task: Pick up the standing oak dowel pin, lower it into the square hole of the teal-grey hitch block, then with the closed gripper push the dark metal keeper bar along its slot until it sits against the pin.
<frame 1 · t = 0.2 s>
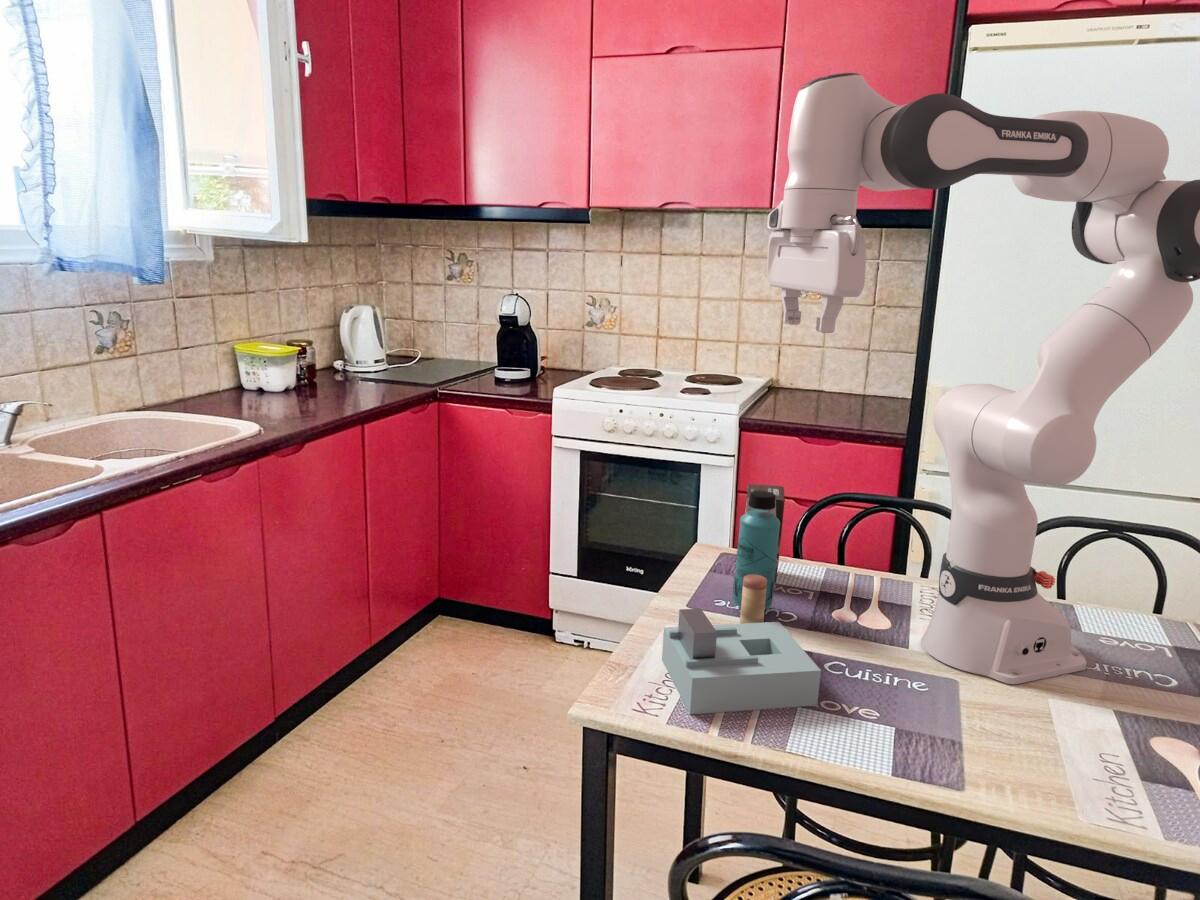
hand: (807, 328, 108), 47 cm above the table, fingers open, 8 cm apart
keeper bar: (696, 634, 111), point 7 cm above the table, slide at 0.0 cm
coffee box: (758, 579, 149), on the table
beverage bottle: (751, 612, 136), on the table
pin: (749, 641, 125), on the table
hitch block: (736, 681, 114), on the table
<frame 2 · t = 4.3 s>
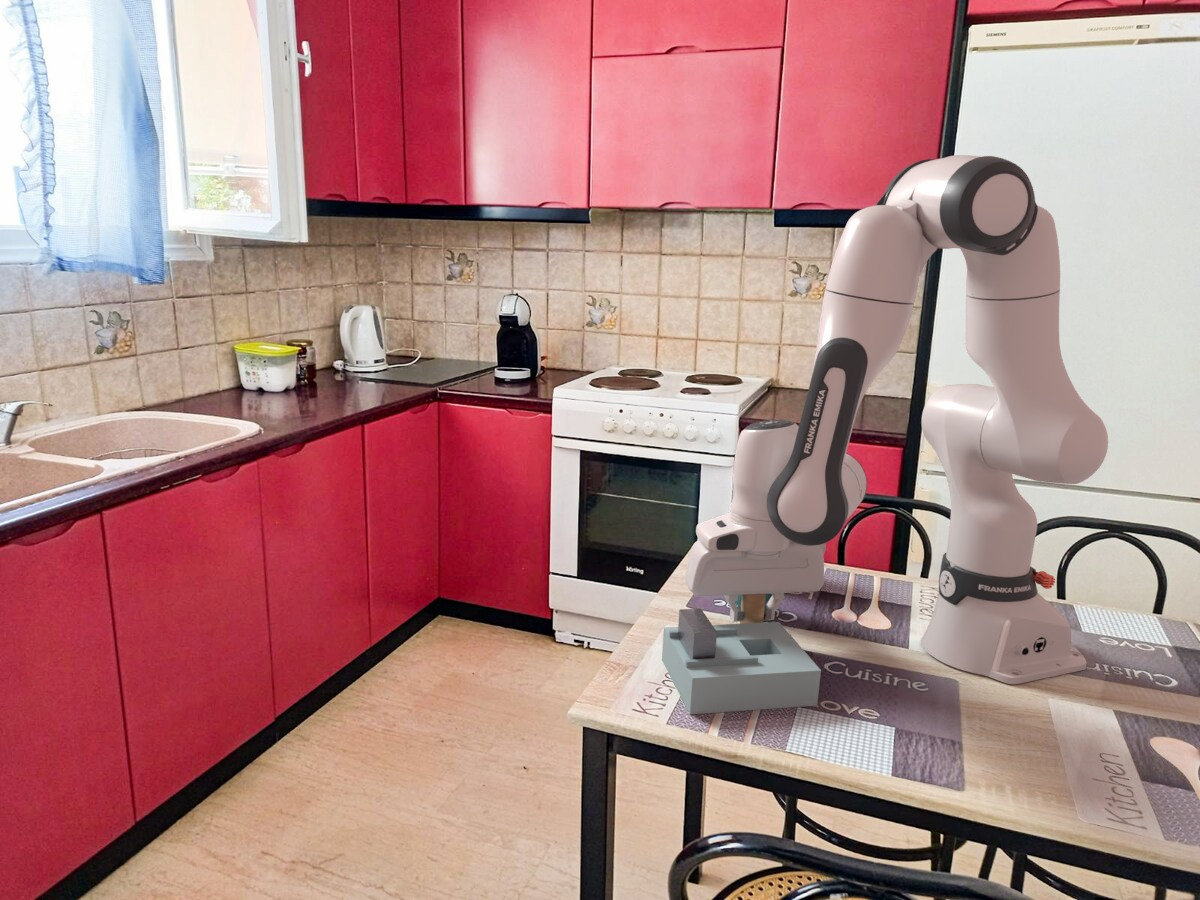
hand: (751, 619, 125), 4 cm above the table, fingers closed on pin, 3 cm apart
pin: (749, 641, 125), on the table, touching gripper
everything else where it was.
when the fingers open (6 cm above the table, at t = 10.2 s): pin drops 1 cm, resting on hitch block.
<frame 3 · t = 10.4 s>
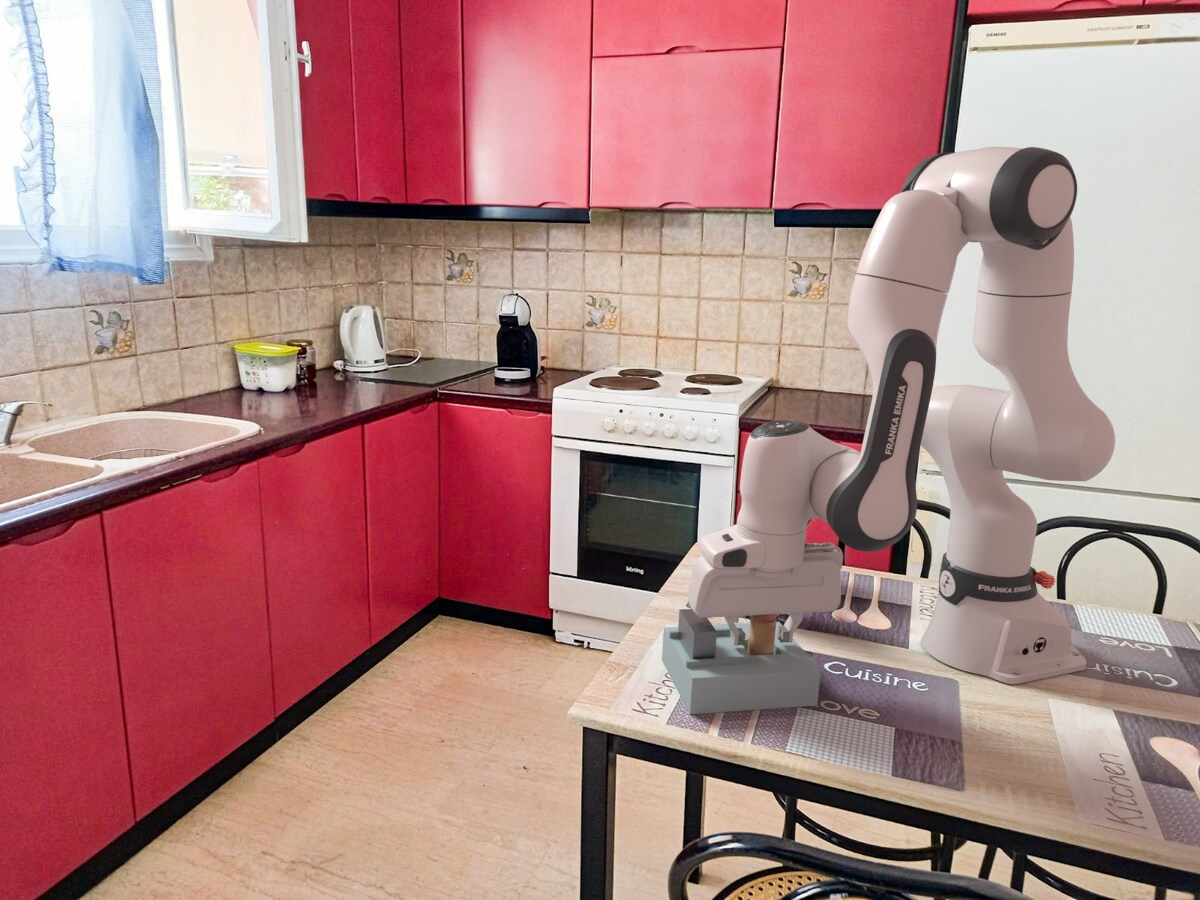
hand: (760, 642, 113), 6 cm above the table, fingers open, 5 cm apart
pin: (758, 678, 114), resting on hitch block
everything else where it was.
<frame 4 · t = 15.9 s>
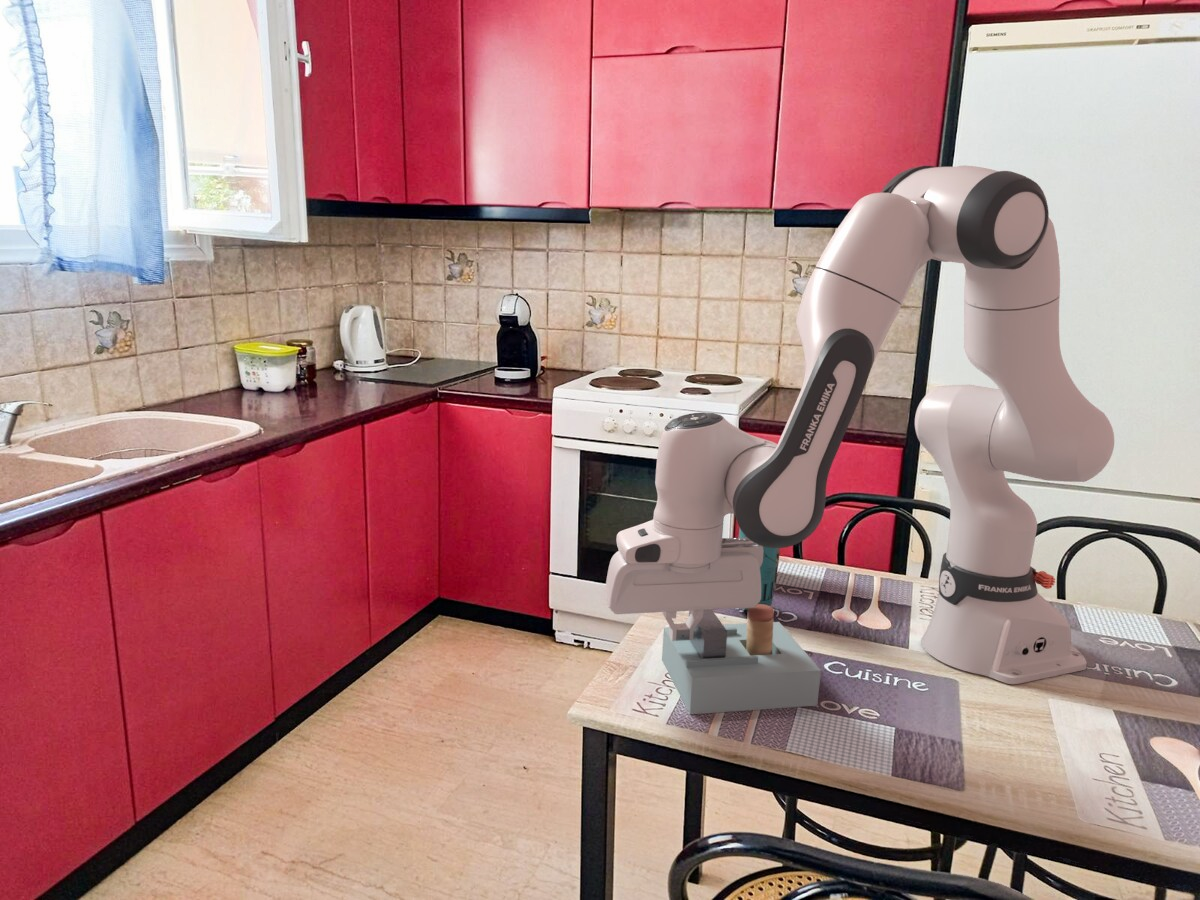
hand: (680, 638, 111), 7 cm above the table, fingers closed
keeper bar: (706, 633, 111), point 7 cm above the table, slide at 1.4 cm, touching gripper
everything else where it was.
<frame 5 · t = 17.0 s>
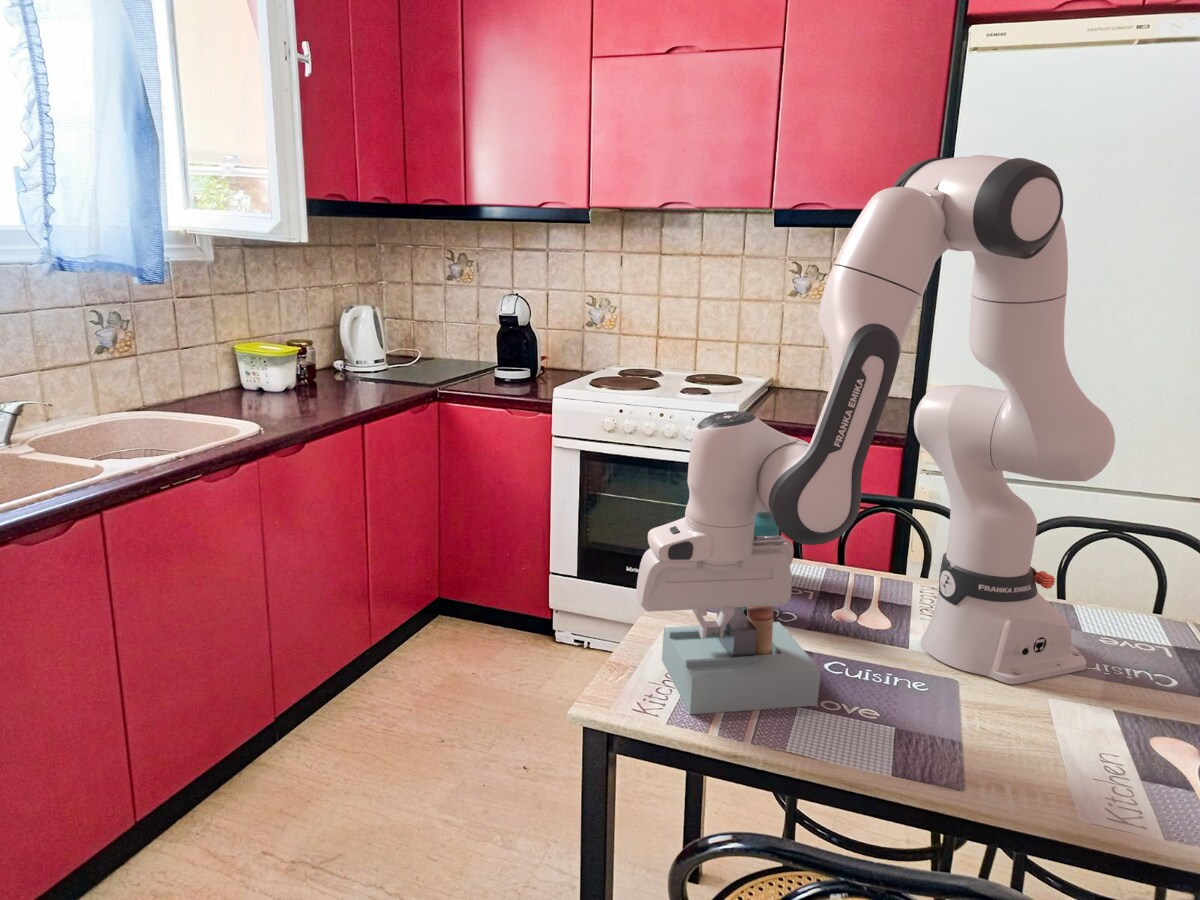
hand: (710, 636, 111), 7 cm above the table, fingers closed
keeper bar: (735, 632, 112), point 7 cm above the table, slide at 5.4 cm, touching gripper
everything else where it was.
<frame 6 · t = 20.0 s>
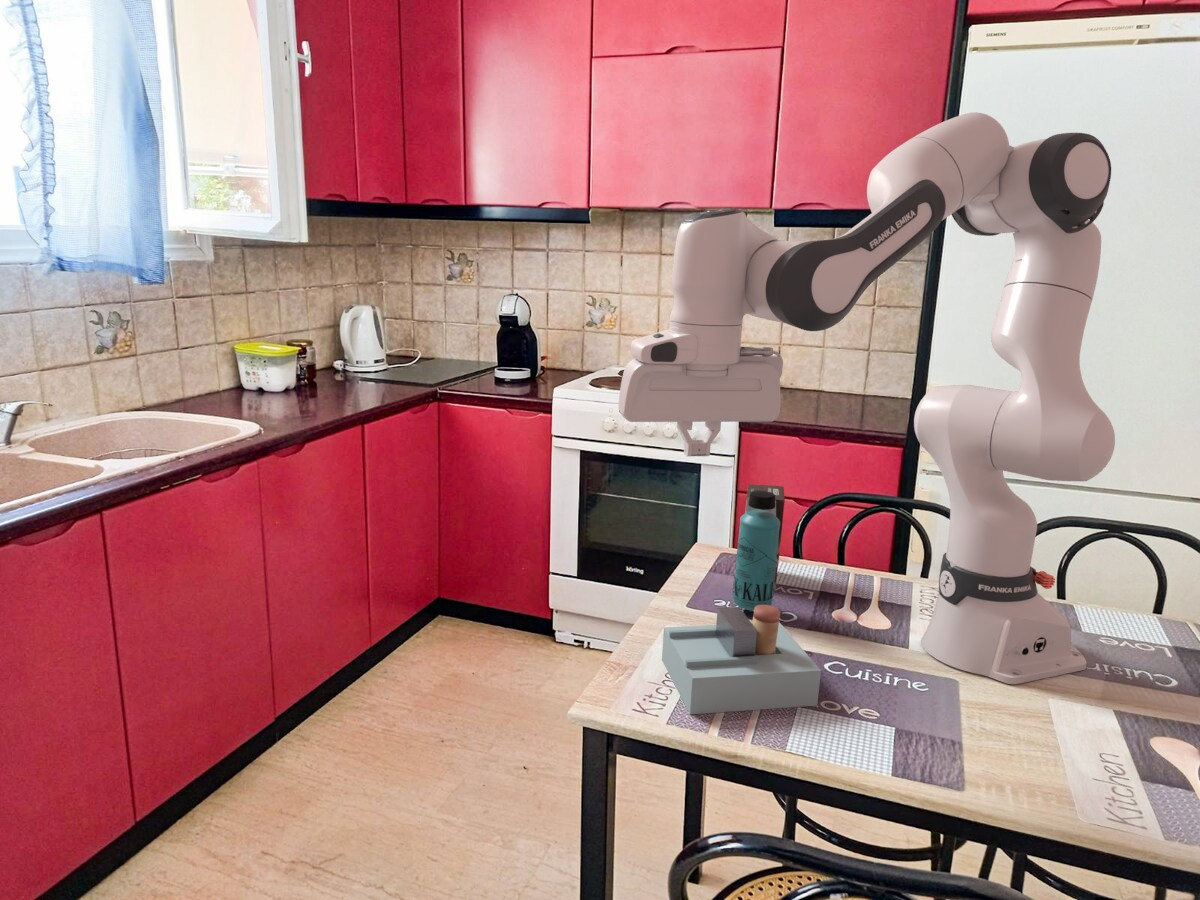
hand: (696, 455, 107), 31 cm above the table, fingers closed
keeper bar: (735, 632, 112), point 7 cm above the table, slide at 5.4 cm
everything else where it was.
at the end: pin 0.1 cm from the target spot on the hitch block, point 0.5 cm above the hitch block's base; pin tilted 2°; keeper bar slide at 5.4 cm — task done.
